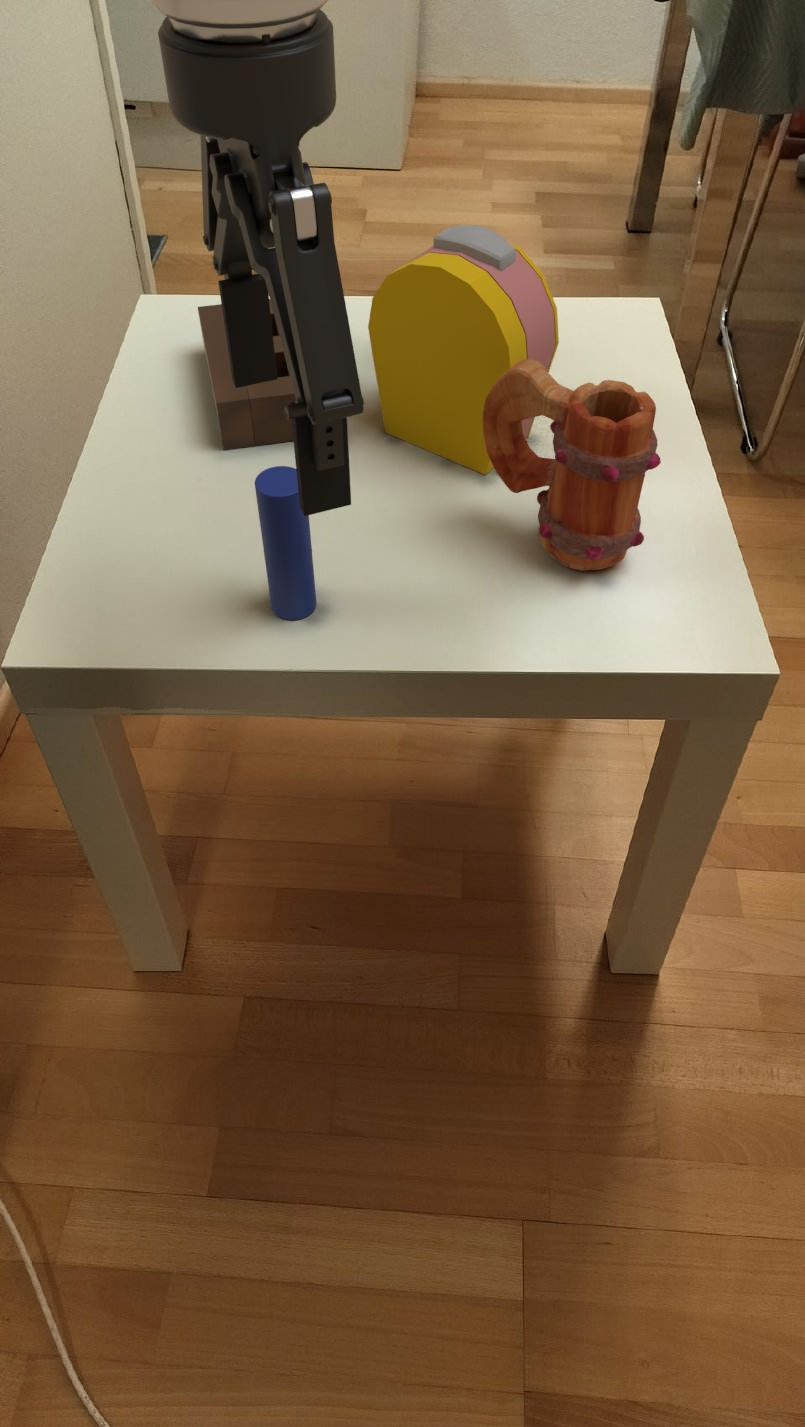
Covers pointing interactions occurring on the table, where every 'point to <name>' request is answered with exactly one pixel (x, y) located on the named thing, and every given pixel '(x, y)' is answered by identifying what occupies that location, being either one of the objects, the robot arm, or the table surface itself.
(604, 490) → the mug
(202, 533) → the table surface
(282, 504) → the blue long cylinder
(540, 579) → the table surface
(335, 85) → the robot arm
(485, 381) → the alarm clock
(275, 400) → the holder
